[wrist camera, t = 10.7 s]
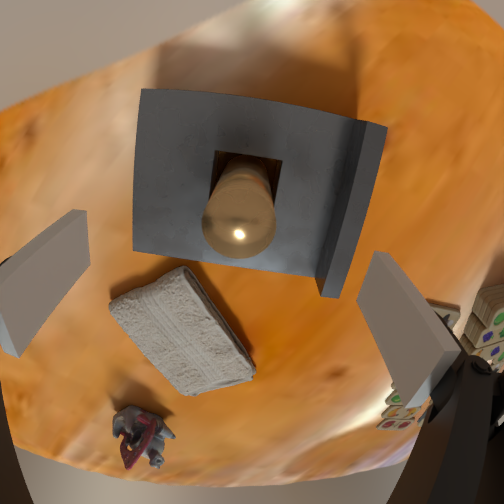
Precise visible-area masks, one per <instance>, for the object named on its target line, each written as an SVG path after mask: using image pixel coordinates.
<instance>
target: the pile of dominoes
mask: <svg viewBox="0 0 504 504" xmlns="http://www.w3.org/2000/svg"><path fill="white" fill-rule="evenodd" d="M428 304H429V305H430V306H431V308H432V309H433V310H434V311H436V312H437V313H438V314H439V315H440V316H441V317H442V318H443V319H444V321H445V322H446V323H447V325H448V327H450V329H451V330H452V328H453V327H454V325H455V324H456V322H457V321H458V319H459V318H460V312H459V310H458V309H454V308H450V307H445V306H441V305H436V304H432V303H428ZM472 311H473V313H472V314H471V315H470V316H469V318H468V321H467V324H466V326H465V329H464V333H465V334H464V335H463V336H462V337H461V338H460V340H459V342H460V343H461V345H462V346H463V348H464V349H465V351H466V352H467V354H468V355H477V356H479V357H481V358H483V359H484V360H486V361H488V360H491V359H493V360H492V362H493V363H492V364H491V365H490V366H491V368H492V370H493V372H499V370H500V369H501V367H502V365H503V364H504V284H500V285H496V286H491V287H487V288H482V289H480V290H479V291H478V293H477V295H476V298H475V301H474V304H473V307H472ZM391 387H392V389H396V387H395V384H394V382H393V383H392V384H391ZM385 403H386V404H387V405H390V406H389V407H388V408H387V409H386V410H385V411H384V412H383V413H382V414H381V416H382V418H385V419H384V420H383V421H382V422H381V423H380V424H378V425H377V426H376V428H377V429H378V430H404V429H406V428H407V427H408V426H410V425H411V424H412V423H413V422H414V418H411V417H413V416H414V415H415V414H416V413H417V412H418V411H419V410H420V409H421V406H419V407H411V408H404V406H403V404H402V401H401V399H400V397H399V394H398V392H397V389H396V390H394V391H393V392H392V393H391V394H390V396H389V397H388V398H387V399H386V400H385ZM429 403H430V405H431V404H432V403H433V401H432V399H431V400H430V402H429ZM430 405H429V406H430ZM429 406H428V407H427V409H428V408H429ZM427 409H426V410H427ZM424 419H425V418H424ZM424 419H422V421H421V422H420V423H419V422H418V426H422V424H423V421H424Z"/></svg>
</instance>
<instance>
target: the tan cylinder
mask: <svg viewBox="0 0 504 504" xmlns="http://www.w3.org/2000/svg"><path fill="white" fill-rule="evenodd" d="M201 225H202V232H203V235H204V237H205V239H206V241H207V243H208V244H209V245H210V246H211V247H212V248H213V249H214V250H215V251H216V252H218V253H219V254H221V255H223V256H226V257H229V258H233V259H245V258H250V257H253V256H256V255H258V254H260V253H261V252H263V251H264V250H265V249H266V248H267V247H268V246H269V245H270V243H271V242H272V240H273V238H274V236H275V232H276V217H275V211H274V206H273V200H272V195H271V189H270V184H269V179H268V173H267V169H266V167H265V165H264V164H263V163H262V161H260V160H259V159H258V158H256V157H254V156H251V155H240V156H237V157H235V158H233V159H232V160H230V161H229V162H228V164H227V165H226V167H225V169H224V171H223V173H222V175H221V177H220V179H219V181H218V183H217V185H216V187H215V189H214V191H213V193H212V195H211V197H210V199H209V201H208V203H207V206H206V208H205V210H204V212H203V215H202V223H201Z"/></svg>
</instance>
